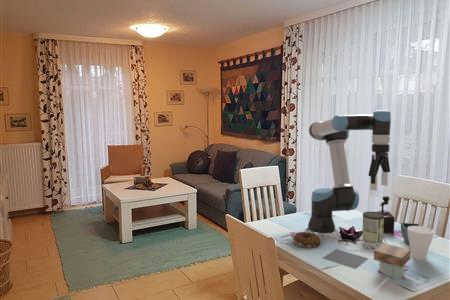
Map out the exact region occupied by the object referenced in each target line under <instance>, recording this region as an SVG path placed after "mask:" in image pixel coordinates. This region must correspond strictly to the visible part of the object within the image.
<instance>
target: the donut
mask: <svg viewBox="0 0 450 300" xmlns="http://www.w3.org/2000/svg"><path fill="white" fill-rule="evenodd" d="M293 242H294V244H296V245H297V246H298V245H299V247H300V246H302V247H301V248H315V247H318V246H320V243H321V238H320V236H319V235H317V233H315V232H310V231H308V232H307V231H302V232H301V231H300V232H297V233H296V234H295V235H294V236H293Z"/></svg>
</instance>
